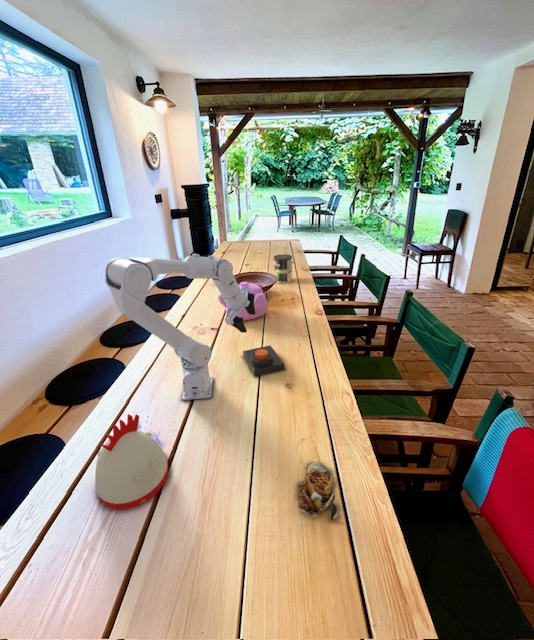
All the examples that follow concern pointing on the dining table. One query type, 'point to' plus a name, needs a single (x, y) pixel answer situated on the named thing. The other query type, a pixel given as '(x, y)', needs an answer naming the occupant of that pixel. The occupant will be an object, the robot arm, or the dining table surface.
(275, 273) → the coffee can
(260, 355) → the button
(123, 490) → the kitchen timer
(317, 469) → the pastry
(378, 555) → the dining table surface
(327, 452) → the dining table surface
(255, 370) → the switch
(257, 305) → the teapot
